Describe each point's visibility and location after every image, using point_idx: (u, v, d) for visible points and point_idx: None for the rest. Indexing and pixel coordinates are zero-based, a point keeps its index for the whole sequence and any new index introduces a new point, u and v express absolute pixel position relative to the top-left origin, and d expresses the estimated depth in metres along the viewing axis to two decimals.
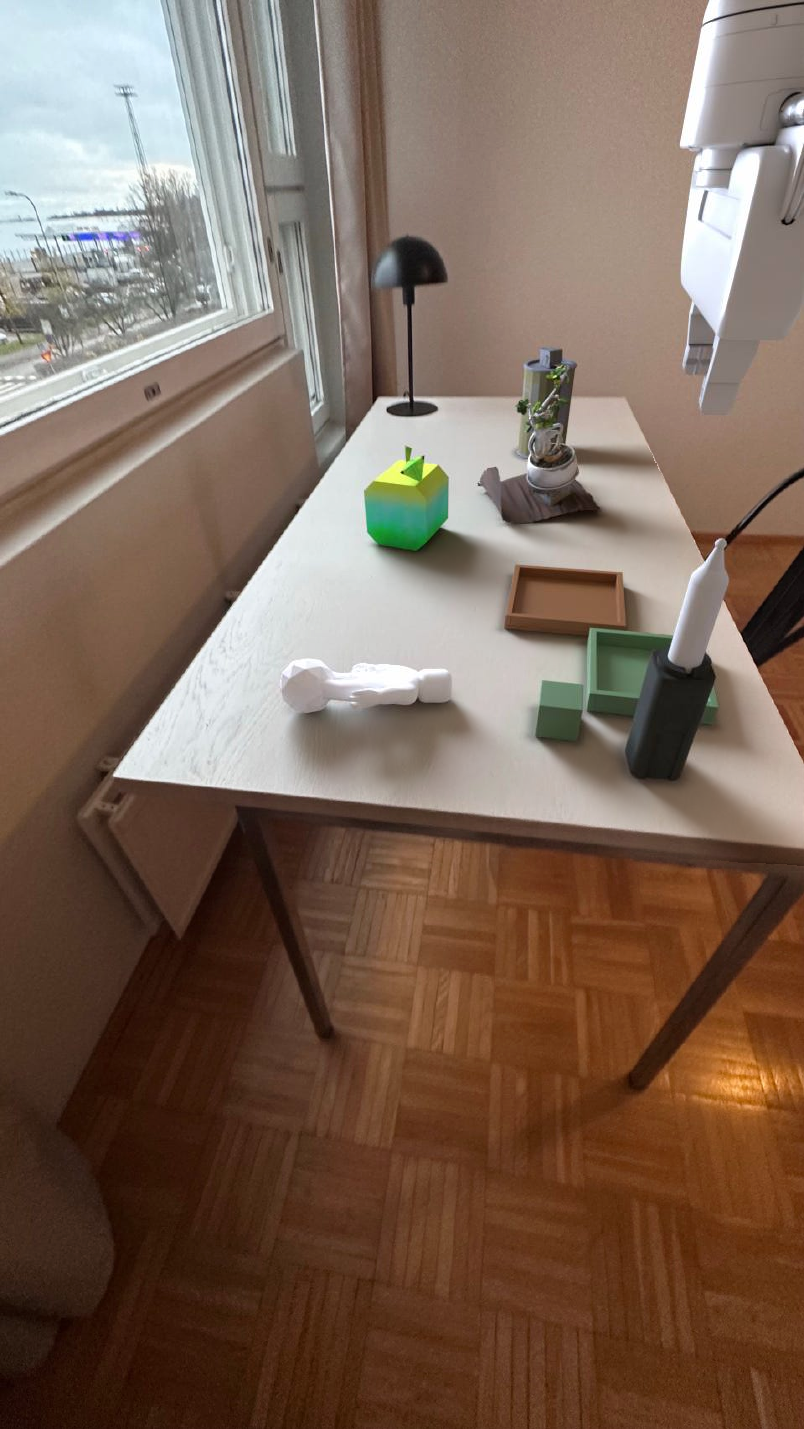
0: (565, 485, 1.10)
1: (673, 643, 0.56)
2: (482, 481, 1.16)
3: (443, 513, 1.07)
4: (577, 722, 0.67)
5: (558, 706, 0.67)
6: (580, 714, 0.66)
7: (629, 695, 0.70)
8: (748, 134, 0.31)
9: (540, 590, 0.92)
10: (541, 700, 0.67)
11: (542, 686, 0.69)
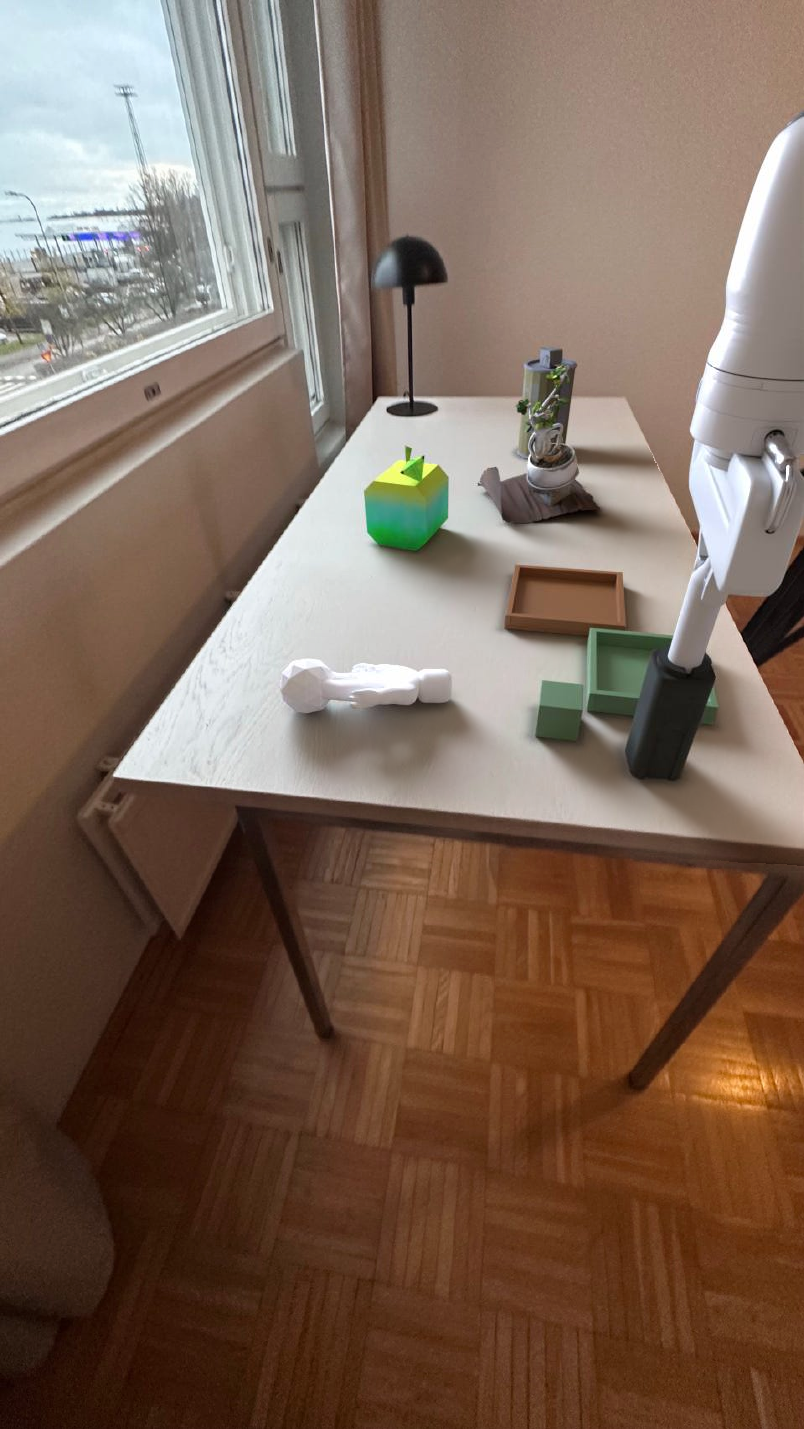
0: (565, 485, 1.10)
1: (673, 643, 0.56)
2: (482, 481, 1.16)
3: (443, 513, 1.07)
4: (577, 722, 0.67)
5: (558, 706, 0.67)
6: (580, 714, 0.66)
7: (629, 695, 0.70)
8: (741, 449, 0.42)
9: (540, 590, 0.92)
10: (541, 700, 0.67)
11: (542, 686, 0.69)
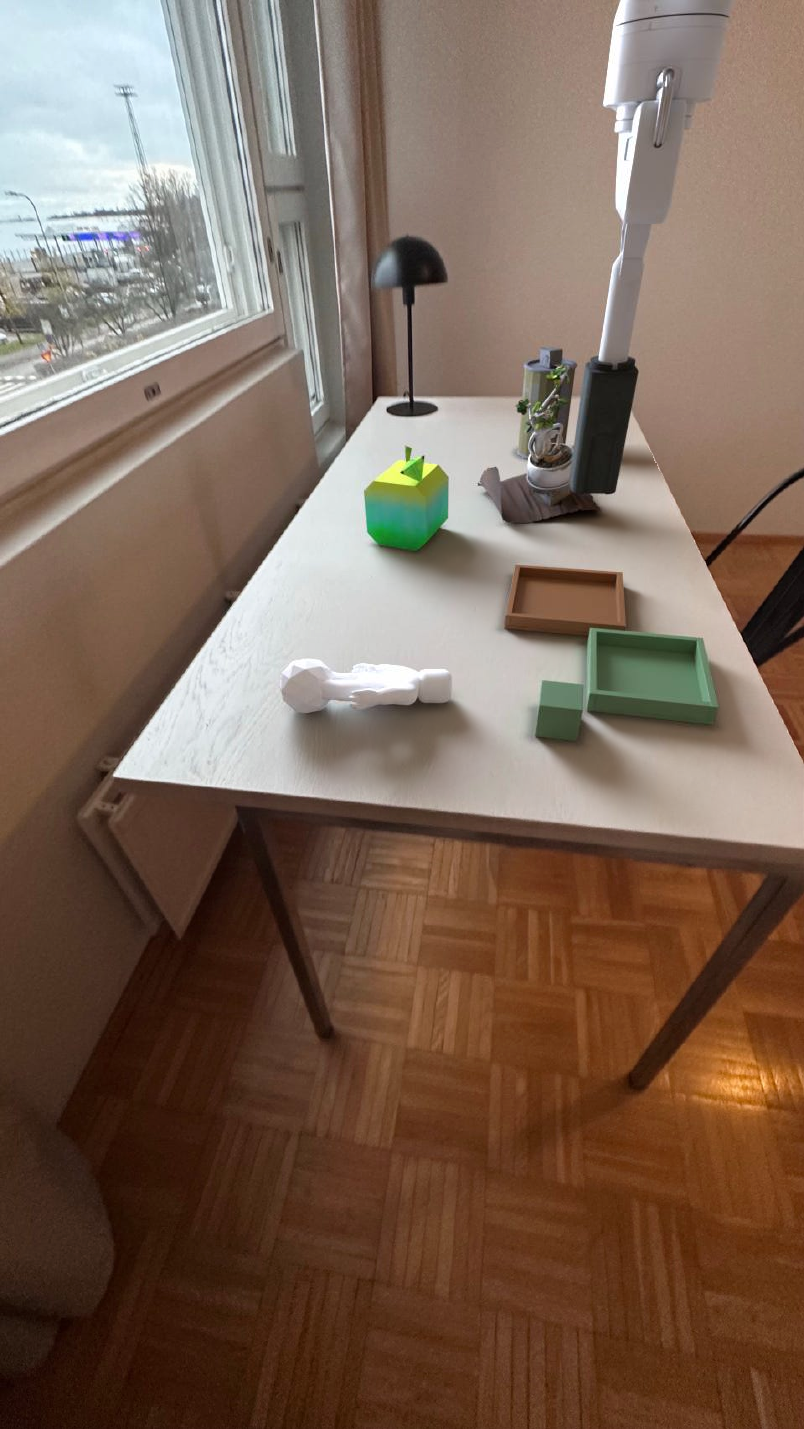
0: (565, 485, 1.10)
1: (601, 341, 0.65)
2: (482, 481, 1.16)
3: (443, 513, 1.07)
4: (577, 722, 0.67)
5: (558, 706, 0.67)
6: (580, 714, 0.66)
7: (629, 695, 0.70)
8: (639, 95, 0.51)
9: (540, 590, 0.92)
10: (541, 700, 0.67)
11: (542, 686, 0.69)
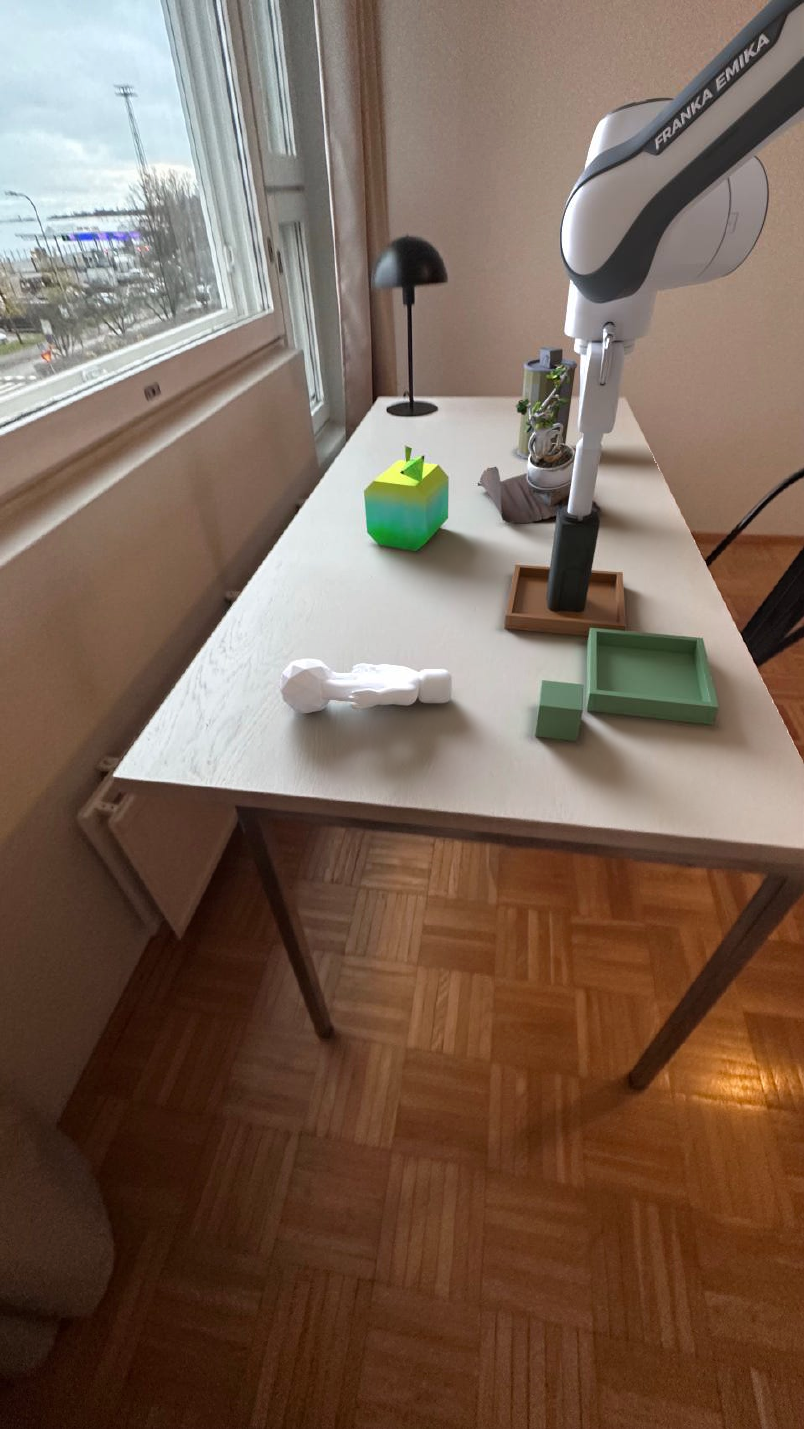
0: (565, 485, 1.10)
1: (569, 498, 0.80)
2: (482, 481, 1.16)
3: (443, 513, 1.07)
4: (577, 722, 0.67)
5: (558, 706, 0.67)
6: (580, 714, 0.66)
7: (629, 695, 0.70)
8: (590, 336, 0.65)
9: (540, 590, 0.92)
10: (541, 700, 0.67)
11: (542, 686, 0.69)
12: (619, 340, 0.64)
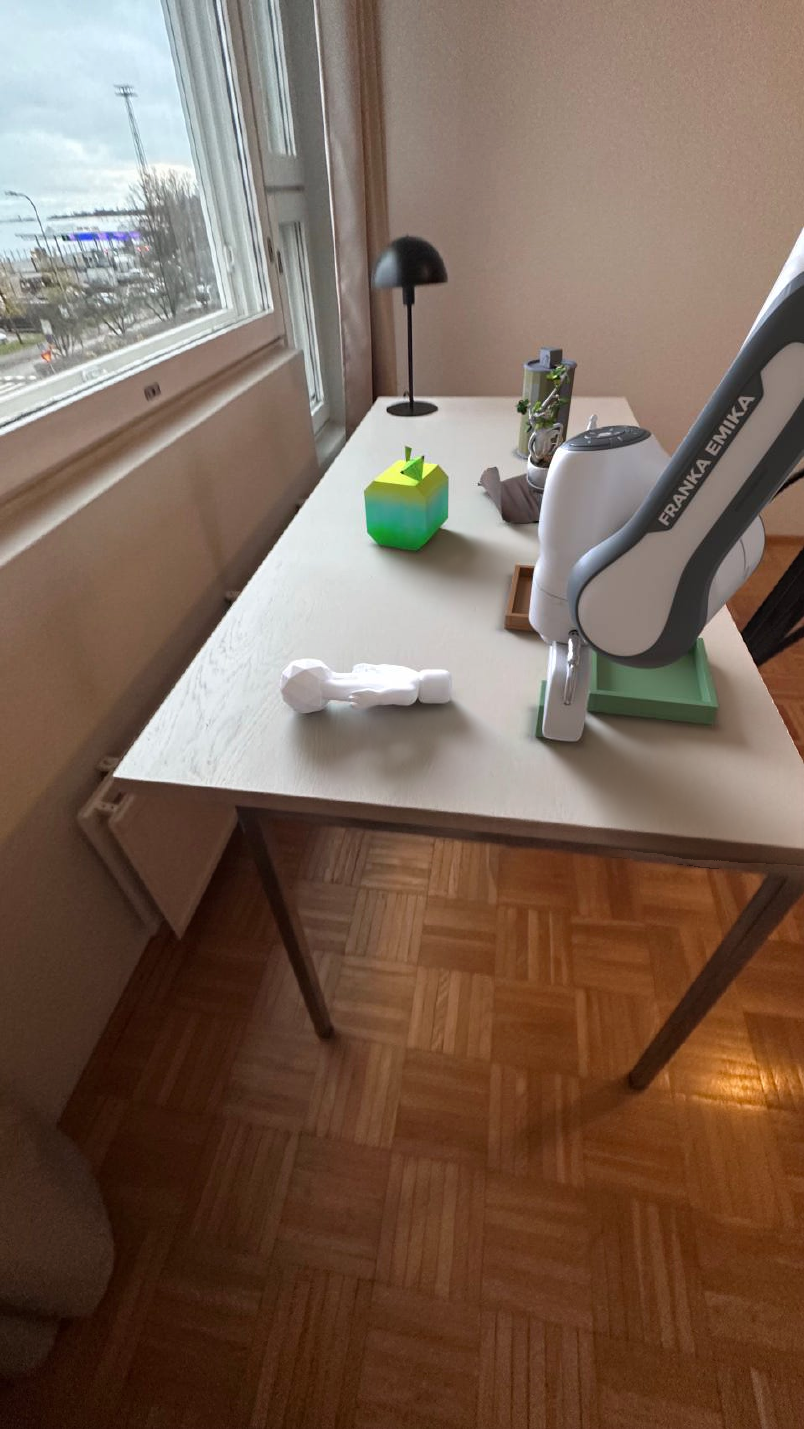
0: None
1: None
2: (482, 481, 1.16)
3: (443, 513, 1.07)
4: None
5: None
6: None
7: (629, 695, 0.70)
8: (555, 638, 0.59)
9: None
10: (541, 700, 0.67)
11: (542, 686, 0.69)
12: (587, 645, 0.59)
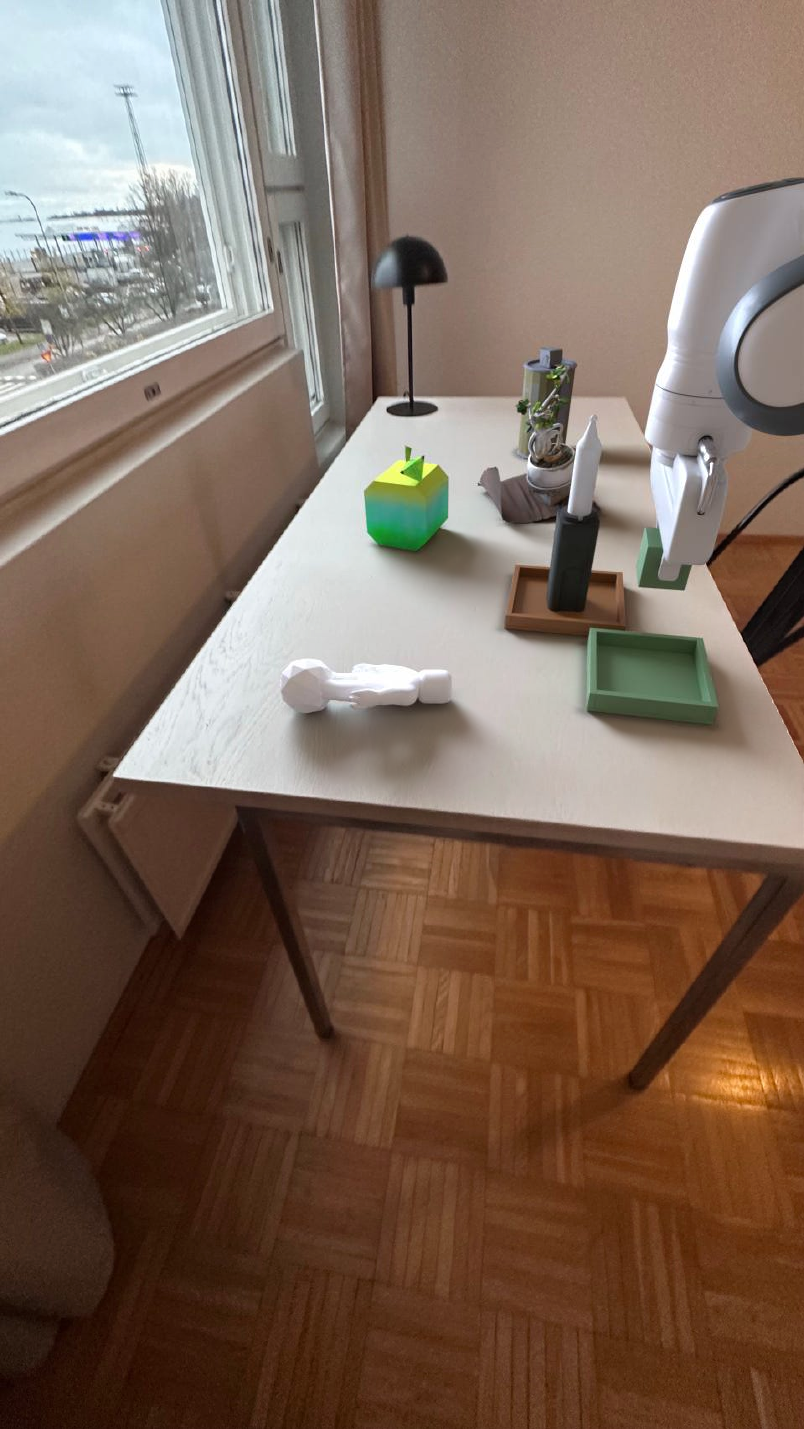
0: (565, 485, 1.10)
1: (569, 498, 0.80)
2: (482, 481, 1.16)
3: (443, 513, 1.07)
4: (688, 565, 0.62)
5: None
6: None
7: (629, 695, 0.70)
8: (681, 450, 0.54)
9: (540, 590, 0.92)
10: (649, 542, 0.62)
11: (647, 532, 0.64)
12: None
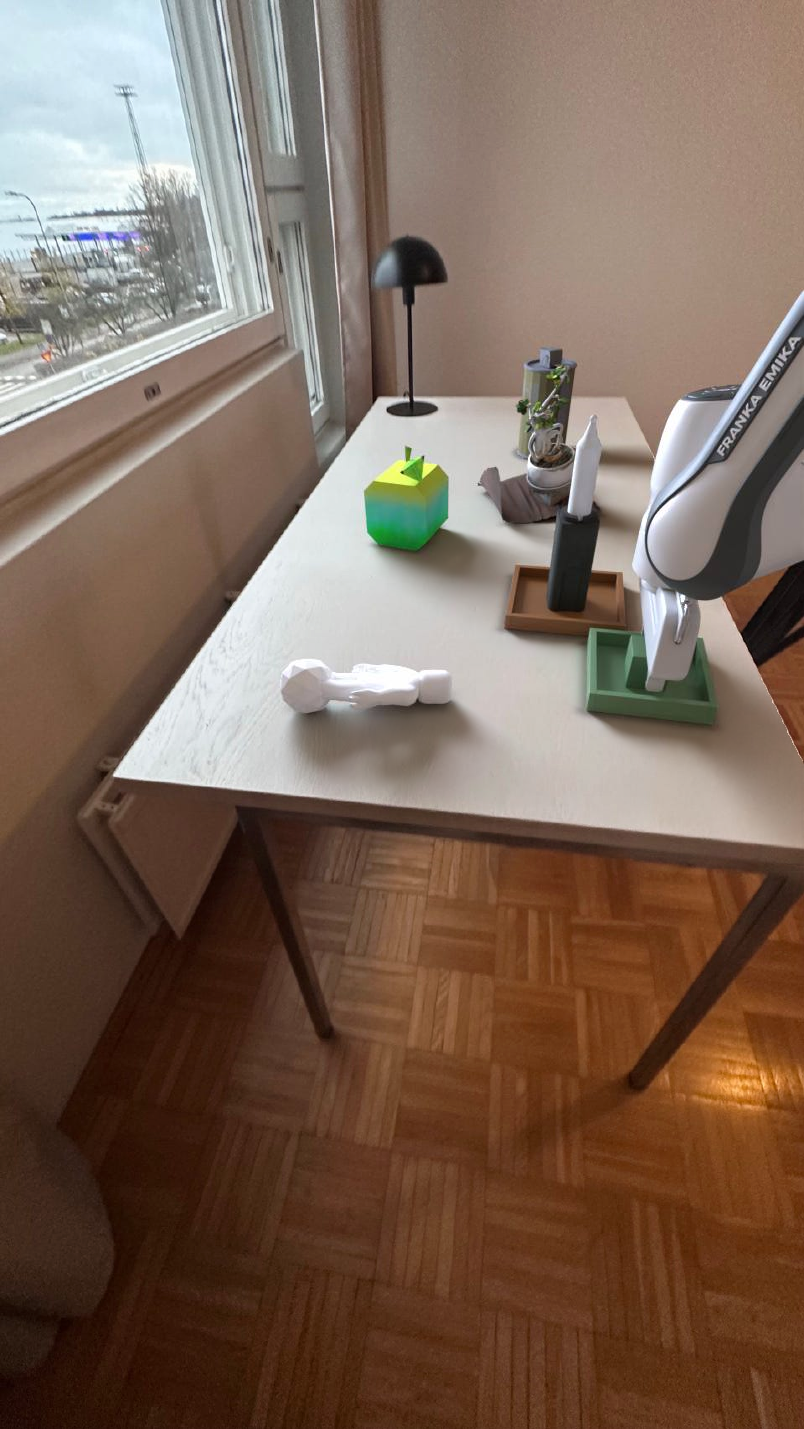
0: (565, 485, 1.10)
1: (569, 498, 0.80)
2: (482, 481, 1.16)
3: (443, 513, 1.07)
4: None
5: None
6: None
7: (629, 695, 0.70)
8: (662, 584, 0.64)
9: (540, 590, 0.92)
10: (634, 652, 0.72)
11: (632, 640, 0.74)
12: None
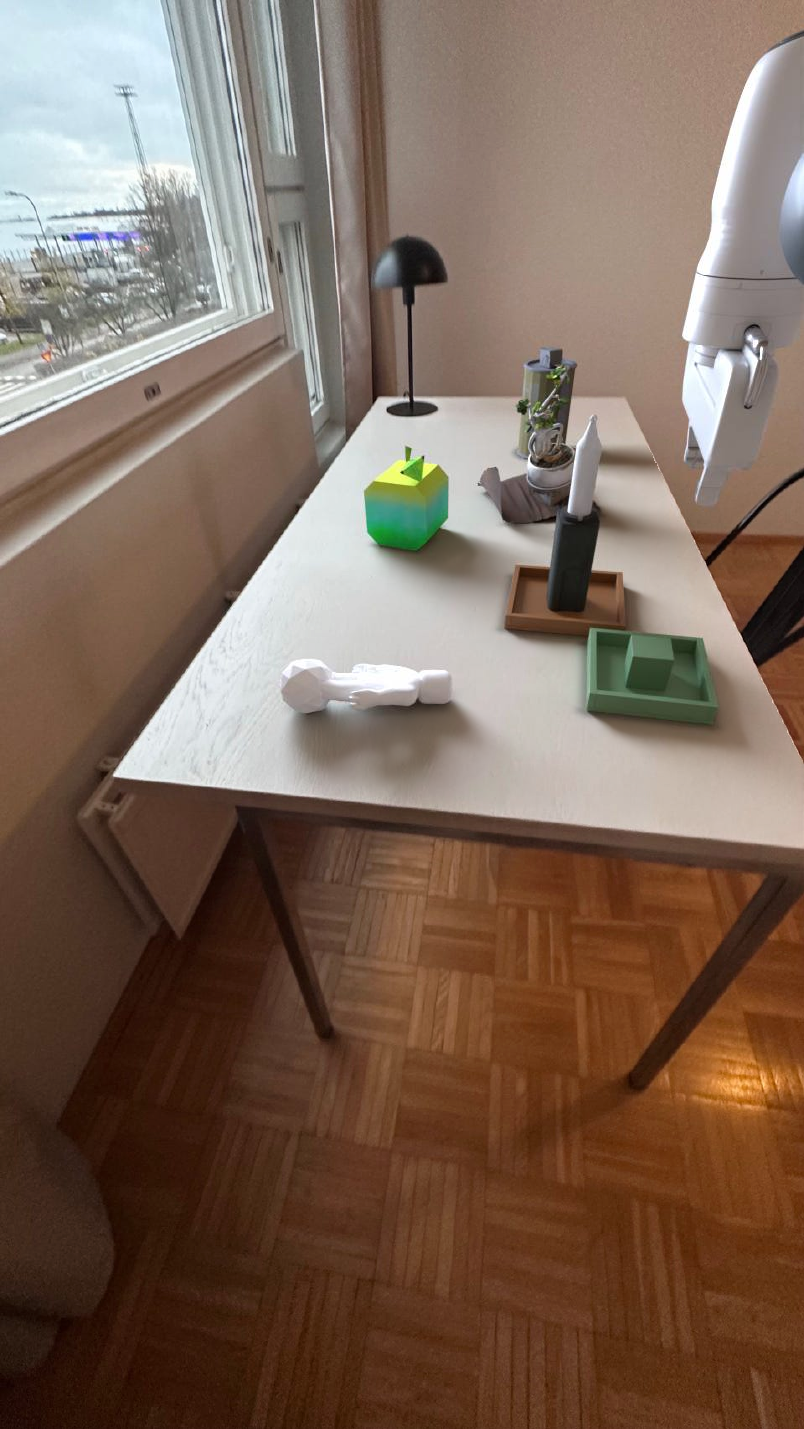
0: (565, 485, 1.10)
1: (569, 498, 0.80)
2: (482, 481, 1.16)
3: (443, 513, 1.07)
4: (668, 672, 0.72)
5: (651, 657, 0.72)
6: (671, 664, 0.71)
7: (629, 695, 0.70)
8: (725, 343, 0.50)
9: (540, 590, 0.92)
10: (634, 652, 0.72)
11: (632, 640, 0.74)
12: None
